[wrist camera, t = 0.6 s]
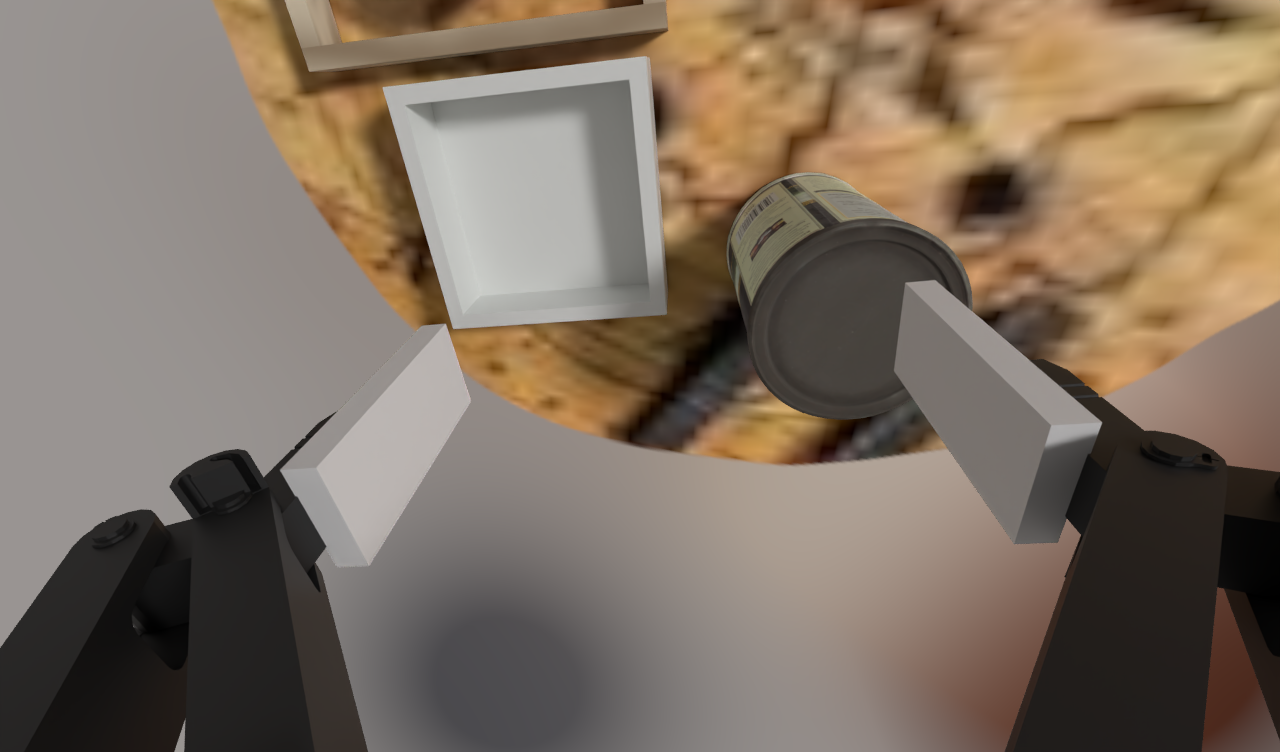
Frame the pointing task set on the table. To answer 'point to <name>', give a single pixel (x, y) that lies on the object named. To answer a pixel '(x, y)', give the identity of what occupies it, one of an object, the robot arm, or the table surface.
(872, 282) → the coffee can
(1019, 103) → the table surface
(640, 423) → the table surface
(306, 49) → the corral
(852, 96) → the table surface
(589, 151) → the bin
